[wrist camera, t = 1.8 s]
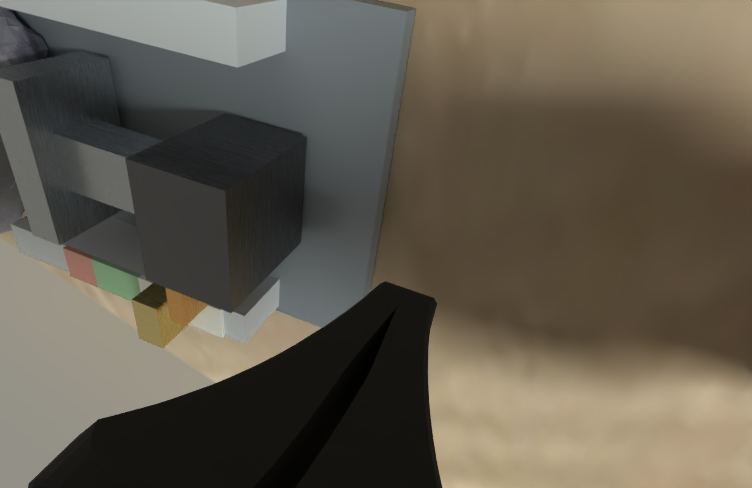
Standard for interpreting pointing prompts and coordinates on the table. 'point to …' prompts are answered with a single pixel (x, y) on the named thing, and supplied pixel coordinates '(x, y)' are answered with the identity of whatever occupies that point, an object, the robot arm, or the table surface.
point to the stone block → (3, 202)
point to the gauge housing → (255, 103)
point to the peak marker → (154, 316)
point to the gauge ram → (153, 182)
